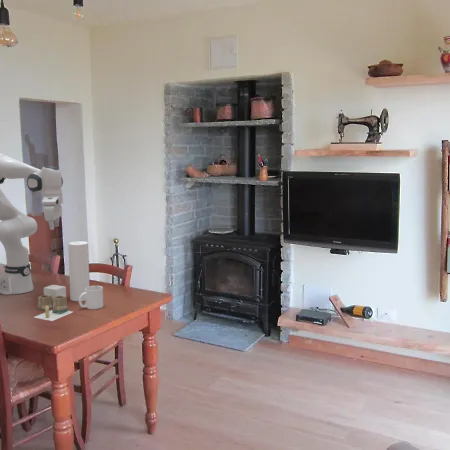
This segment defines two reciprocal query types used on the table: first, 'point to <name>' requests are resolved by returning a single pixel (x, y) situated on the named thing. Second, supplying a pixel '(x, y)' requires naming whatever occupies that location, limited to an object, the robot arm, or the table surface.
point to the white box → (55, 291)
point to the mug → (92, 297)
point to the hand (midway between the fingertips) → (54, 228)
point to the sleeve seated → (59, 304)
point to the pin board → (51, 315)
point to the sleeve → (44, 302)
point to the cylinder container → (78, 269)
